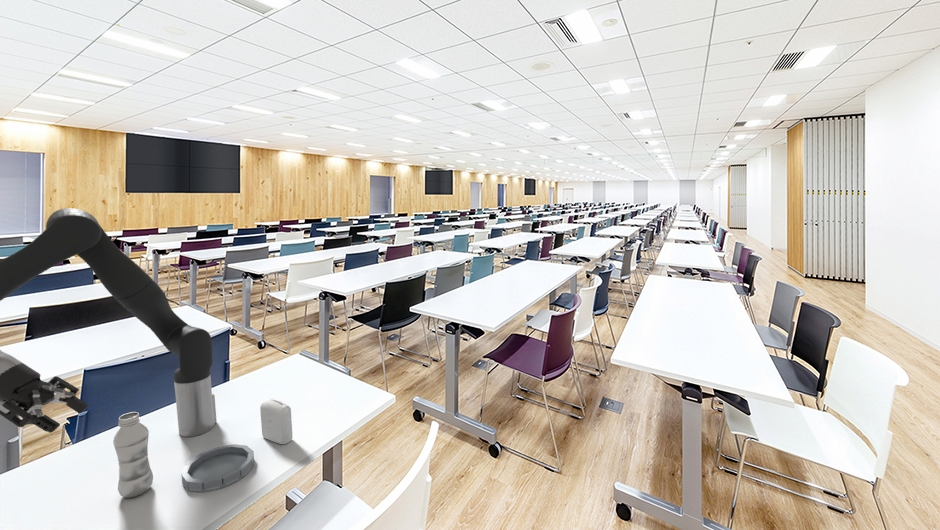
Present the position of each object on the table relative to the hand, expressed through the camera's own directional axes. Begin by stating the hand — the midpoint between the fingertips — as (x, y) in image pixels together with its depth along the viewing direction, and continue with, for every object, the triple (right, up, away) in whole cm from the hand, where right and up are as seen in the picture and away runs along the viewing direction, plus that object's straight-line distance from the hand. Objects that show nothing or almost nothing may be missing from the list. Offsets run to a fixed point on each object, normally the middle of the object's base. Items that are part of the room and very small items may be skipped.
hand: (71, 418), depth 90 cm
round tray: (+26, -19, +14) cm, 35 cm away
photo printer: (+34, -18, +29) cm, 48 cm away
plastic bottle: (+11, -20, +5) cm, 24 cm away
